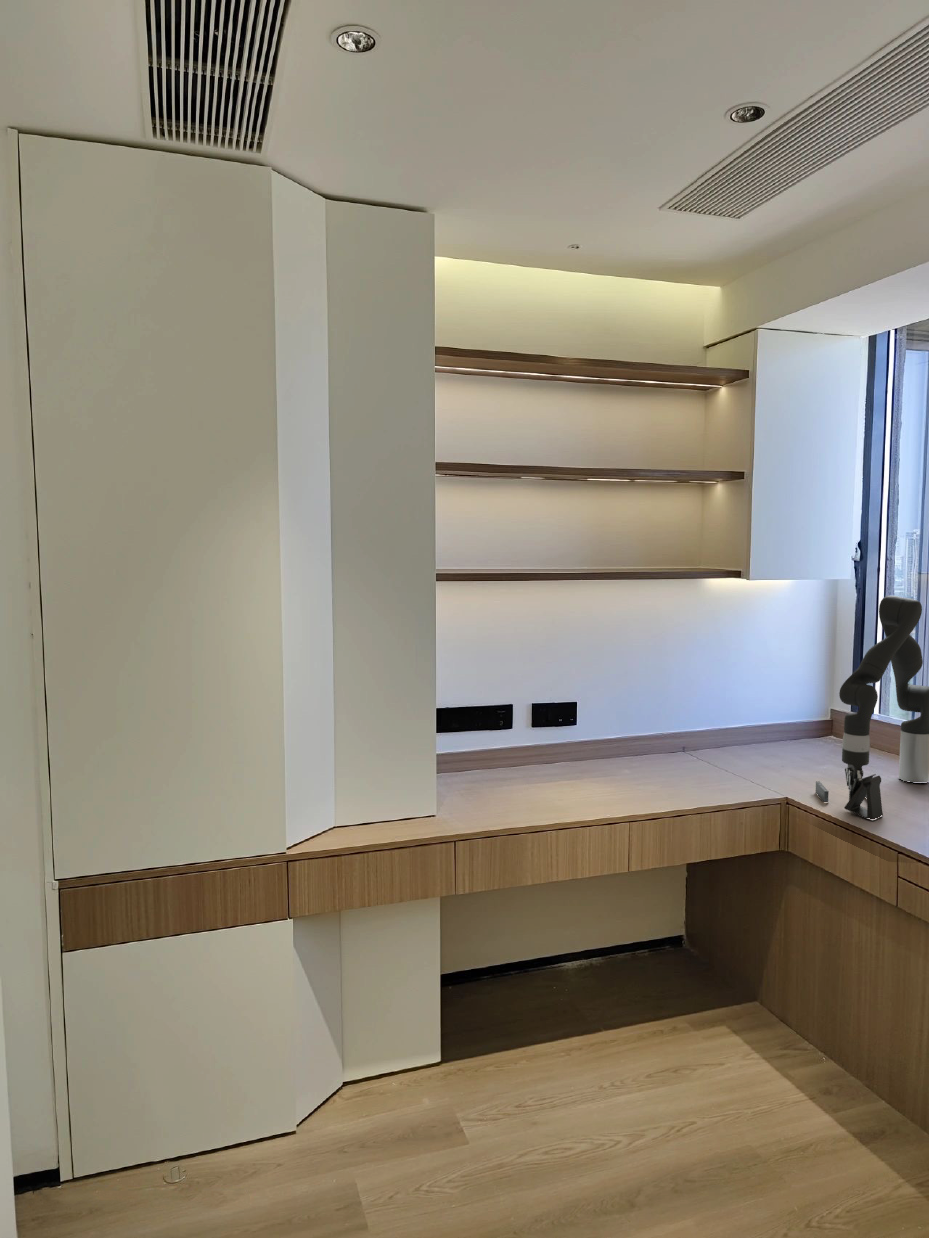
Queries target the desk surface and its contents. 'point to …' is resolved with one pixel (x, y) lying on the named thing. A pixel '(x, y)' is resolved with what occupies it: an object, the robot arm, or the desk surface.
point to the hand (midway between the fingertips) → (853, 802)
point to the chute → (822, 791)
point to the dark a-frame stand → (873, 798)
